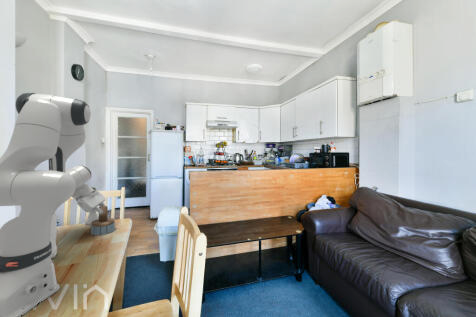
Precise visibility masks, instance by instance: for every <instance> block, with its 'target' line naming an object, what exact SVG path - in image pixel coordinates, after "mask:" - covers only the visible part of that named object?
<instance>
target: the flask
mask: <svg viewBox="0 0 476 317" xmlns="http://www.w3.org/2000/svg"><path fill="white" fill-rule="evenodd" d="M97 219H99V215H98V214H97V212H96V211H94V210H91V211H90V212H88V216H87V218H86V221H85V225H87V226H91V222H92V221H94V220H97Z"/></svg>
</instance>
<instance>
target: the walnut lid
mask: <svg viewBox="0 0 476 317" xmlns="http://www.w3.org/2000/svg"><path fill="white" fill-rule="evenodd" d="M98 208H100V209H102V210H104V212H103V213H102V214H100V213H98V218H99V219H97V220H94V221H92V222H91V225H90V227H91V226H93V227H103V226H108V225H111V224H113V223H114V222H115V223H116V220H115V218H113V217H108V209H107V208H108V205H105V206H101V207H100V206H98Z"/></svg>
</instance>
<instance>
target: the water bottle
mask: <svg viewBox="0 0 476 317" xmlns="http://www.w3.org/2000/svg"><path fill="white" fill-rule="evenodd" d="M57 220H58V216H57V213H56V212H55V213H54V215H53V217H52V219H51V225H50V242H51V244H52V253H51V255H50V256H51V259H54V258H56V255H57V253H58V247H57V243H56V240H57V239H56V238H57V235H58V229H57V228H58V225H57V223H58V222H57Z"/></svg>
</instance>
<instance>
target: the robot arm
mask: <svg viewBox="0 0 476 317" xmlns="http://www.w3.org/2000/svg"><path fill="white" fill-rule="evenodd" d="M15 110H16V112H17V114H18V115H17V118H16V121H15V123H14V126H13V127H14V128H13V132H12V135H11V138H10V139H9V144H8V146H7V148H6V150H5V151H4V153H3V154H2V155H1V157H0V207H13V206H14V207H16V206H20V212H19V215H18V216H16V217H14V218H12V219H10V220H8V221H6V222H5V223H4V224H2V226H1V227H0V317H22V316H23V315H25V314H26V313H28V312H29V311H31V310H32V309H33V308H35V307H37V304H38V303H39V302H40V303H42V302H44V300H46V299H47V298H50V296H52V295H53V294H55V293H56V292H58V291H59V290H60V284H59V283H58V281H57V277H56V270H55V264H54V262H53V260H52V258H51V256H50V255H51V253H52V244H51V242H50V225H51V219H52V217H53V215H54V213H55V214H56V211H57V210H58V209H59V208H60V207H61V205H63V204H64V203H66V202H67V201H68V200H70V199H71V198H72V199H74V200H75V201H76V202H77V203H76V204H77V205H78V207H79V208H80V209H82V211H84V212H85V213H90V211H91V210H94V211H96V213H98V214H99V213H100V214H102V213H103V212H104V210H102V209H100V208H99V207H101V206H106V204H105V201H106V199H107V198H106V196H104V195H103V194H102V193H101V192H100V191H99V190H98V188H96V187H95V186H94V187H93V186H89V185H88V184H87V182H88V181H90V179H91V178H92V171H91V170H90V168H88V167H86V166H85V165H81V164H79V165H75V166H72V167H71V168H68V169H67V168H66V163H67V160H68V159H69V158H70V157H71V155H73V154H74V153H75V152H76V151H77V150H79V149H80V148H81V147H83V146H84V144H85V142H86V131H85V129H86V128H85V125H86V124H88V123H89V122H90V119H91V115H92V114H91V109H90V106H89V105H88V104H87V102H86V101H84V100H82V99H77V98H71V97H64V96H60V95H54V94H48V93H47V94H46V93H44V94H43V93H36V92H23V93H21V94H20V95H18V96H17V97H16V100H15ZM46 161H48V169H45V170H43V169H41V170H38V169H37V170H35V169H36V168H37V167H38V166H39V165H40V164H41V163H43V162H46ZM108 209H109V207H107V210H108ZM41 301H42V302H41ZM40 303H39V304H40ZM39 304H38V305H39ZM21 315H22V316H21Z"/></svg>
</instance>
